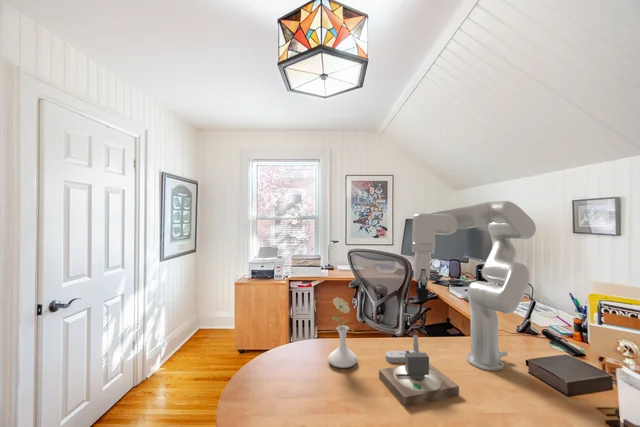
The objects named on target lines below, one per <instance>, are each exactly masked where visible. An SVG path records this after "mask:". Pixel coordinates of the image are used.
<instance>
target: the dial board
mask: <svg viewBox="0 0 640 427" xmlns="http://www.w3.org/2000/svg"><path fill="white" fill-rule="evenodd" d="M396 374H407V372H406V371H405V364H404V365H398V366H393V367H386V368H380V369H379V370H378V378H379V380H380V381H381V382H382V383H383V384H384V385H385V386H386V387H387V389H388V390H389V391H390V392H391V393H392V395H393V396H394V397H395V398H396V400H398V402H399V403H400V404H401V405H402V406H403V407H404V408H407V407H412V406H417V405H420V404H426V403H430V402H436V401H439V400H444V399H449V398H453V397H458V396H460V385H458V384H457V383H455V382H454V381H453V379H451V378H449V377H448V376H447V375H446V374H444V373H443V372H441V371H440V370H439V369H437V368H436V367H435V366H434V365H432V364H431V363H430V362H429V375H425V379H424V380H414V379H412V378H411V377H397V376H396Z"/></svg>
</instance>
